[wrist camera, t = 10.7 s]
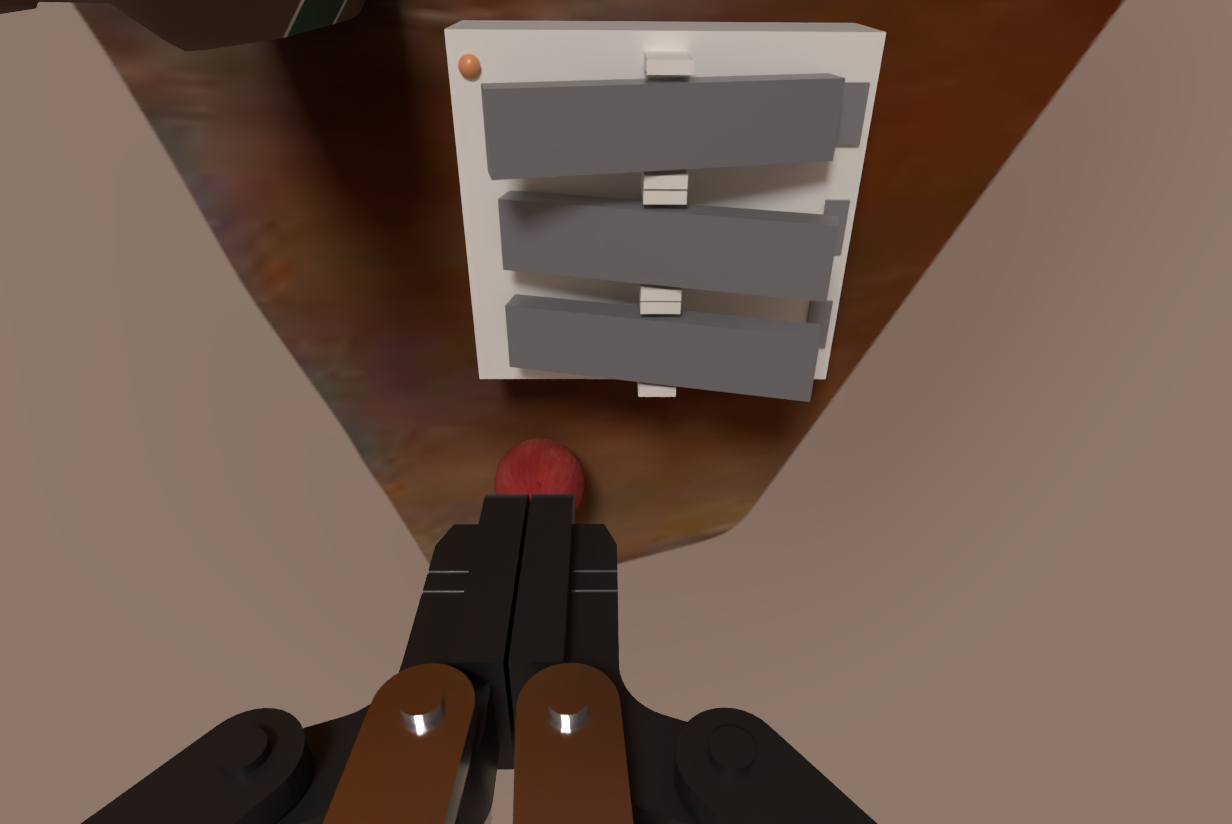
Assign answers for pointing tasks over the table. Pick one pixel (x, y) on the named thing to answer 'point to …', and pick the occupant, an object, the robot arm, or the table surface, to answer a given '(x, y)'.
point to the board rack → (655, 54)
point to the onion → (540, 470)
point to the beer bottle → (222, 18)
